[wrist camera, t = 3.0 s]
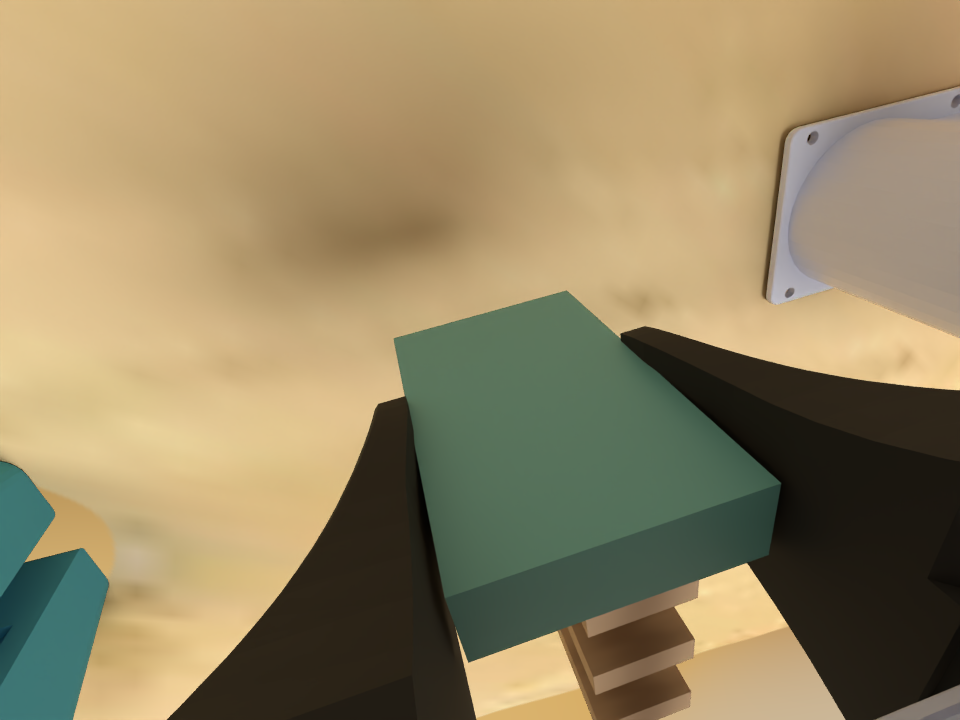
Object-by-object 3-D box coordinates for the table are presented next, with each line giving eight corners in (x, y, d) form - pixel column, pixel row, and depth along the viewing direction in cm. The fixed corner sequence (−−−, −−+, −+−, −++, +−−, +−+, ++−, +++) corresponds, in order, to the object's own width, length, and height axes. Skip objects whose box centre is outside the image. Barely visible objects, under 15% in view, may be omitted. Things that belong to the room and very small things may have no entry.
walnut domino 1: (609, 452, 27) (699, 574, 20) (610, 473, 28) (697, 598, 21) (522, 479, 26) (585, 615, 20) (527, 500, 27) (588, 637, 20)
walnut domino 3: (616, 563, 32) (691, 691, 25) (617, 578, 33) (689, 706, 26) (544, 588, 31) (599, 727, 25) (546, 603, 32) (601, 741, 25)
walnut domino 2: (613, 512, 29) (694, 639, 23) (614, 529, 30) (693, 657, 23) (534, 538, 29) (593, 677, 22) (537, 556, 30) (595, 694, 23)
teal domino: (566, 290, 14) (781, 483, 7) (571, 339, 15) (769, 555, 8) (393, 338, 13) (444, 598, 7) (408, 386, 14) (468, 662, 7)
